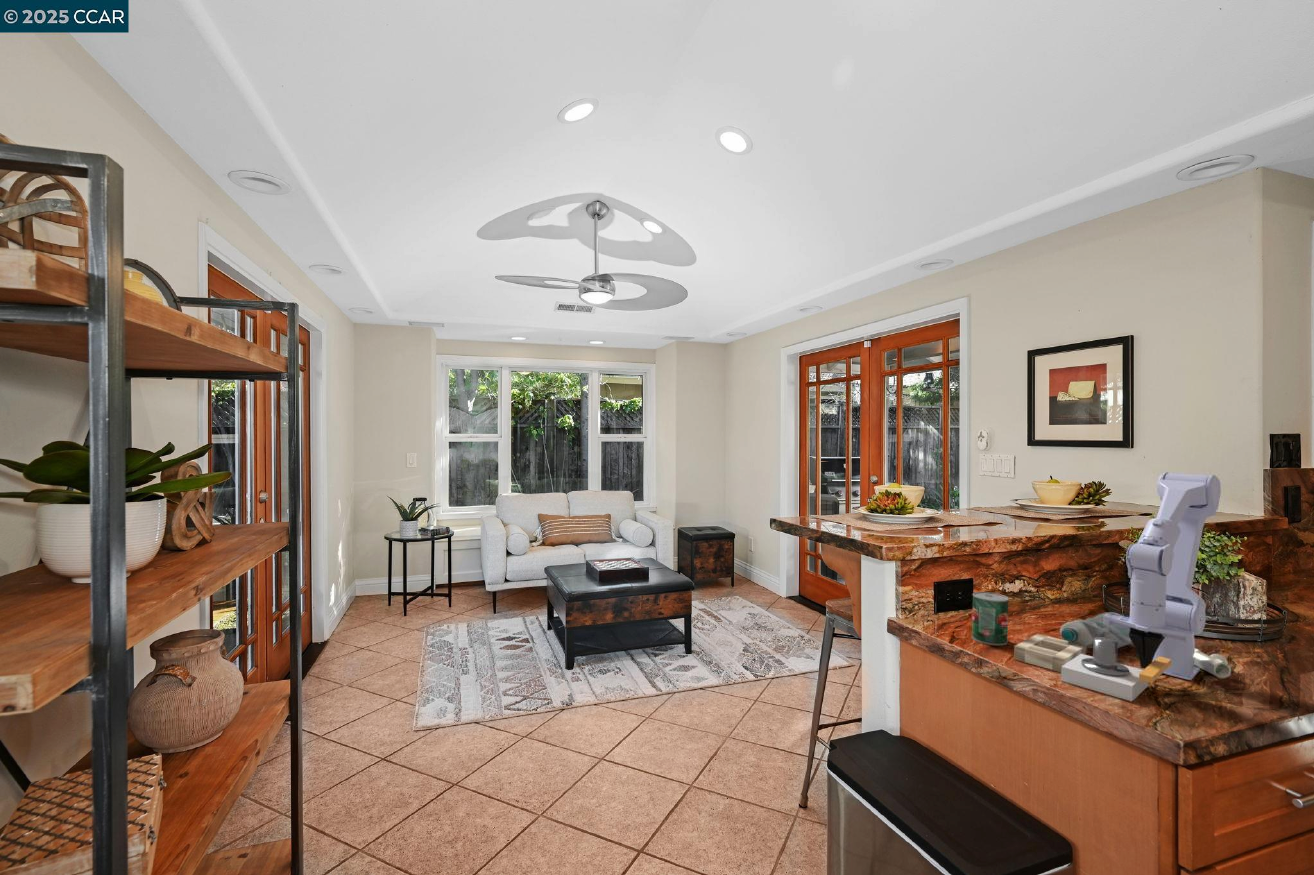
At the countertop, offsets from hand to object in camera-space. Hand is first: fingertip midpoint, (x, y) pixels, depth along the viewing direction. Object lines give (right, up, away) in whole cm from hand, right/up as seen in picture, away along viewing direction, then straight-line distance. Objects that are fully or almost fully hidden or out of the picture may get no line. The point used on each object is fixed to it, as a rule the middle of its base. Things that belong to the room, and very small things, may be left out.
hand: (1145, 667), depth 126 cm
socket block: (-8, -4, +1) cm, 9 cm away
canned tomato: (-18, -3, +26) cm, 32 cm away
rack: (-11, -3, +14) cm, 18 cm away
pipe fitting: (+22, -4, +8) cm, 23 cm away
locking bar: (-1, 0, -3) cm, 3 cm away
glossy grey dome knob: (-8, -4, +1) cm, 9 cm away
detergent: (+5, -3, +21) cm, 22 cm away
